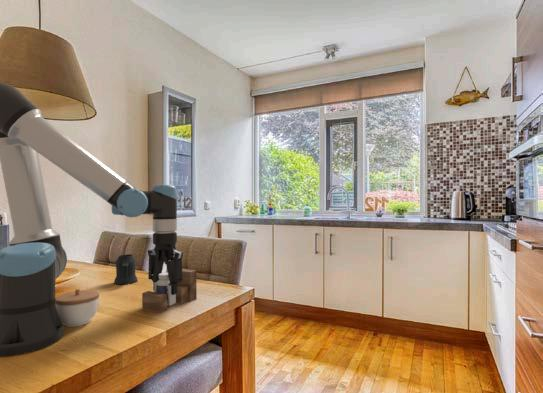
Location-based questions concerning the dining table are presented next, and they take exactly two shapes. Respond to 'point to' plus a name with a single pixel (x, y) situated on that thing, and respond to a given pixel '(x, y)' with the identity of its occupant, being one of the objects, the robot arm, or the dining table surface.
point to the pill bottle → (163, 284)
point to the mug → (125, 270)
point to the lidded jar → (77, 307)
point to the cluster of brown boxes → (184, 294)
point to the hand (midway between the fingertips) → (165, 302)
